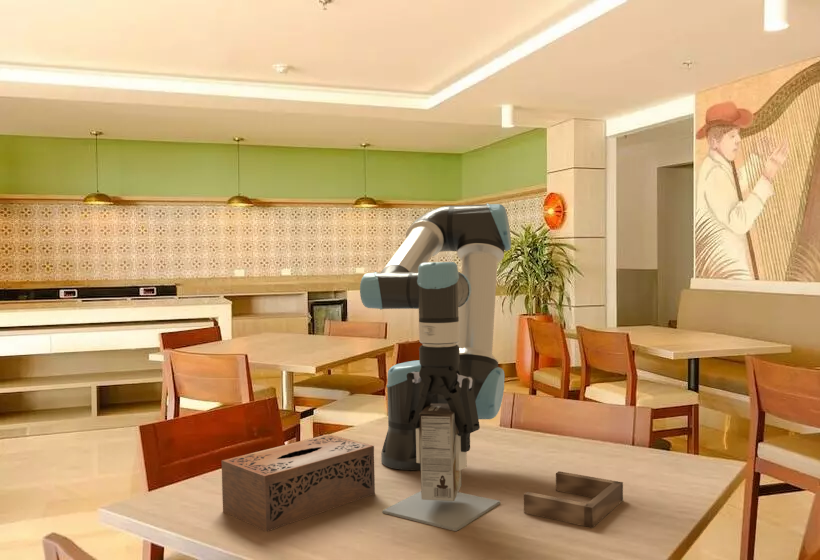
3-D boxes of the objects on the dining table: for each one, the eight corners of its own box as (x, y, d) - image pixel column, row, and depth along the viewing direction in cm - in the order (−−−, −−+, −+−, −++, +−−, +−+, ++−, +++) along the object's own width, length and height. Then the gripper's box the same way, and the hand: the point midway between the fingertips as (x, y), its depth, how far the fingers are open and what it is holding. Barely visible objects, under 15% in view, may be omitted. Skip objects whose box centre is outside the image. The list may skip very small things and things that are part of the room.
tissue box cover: (266, 533, 120) (264, 476, 119) (222, 512, 130) (221, 460, 129) (374, 495, 138) (373, 445, 138) (329, 480, 148) (328, 434, 148)
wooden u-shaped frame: (524, 512, 126) (523, 494, 126) (559, 488, 139) (558, 471, 139) (592, 527, 118) (592, 507, 118) (622, 500, 131) (622, 482, 131)
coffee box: (429, 484, 134) (427, 402, 134) (462, 485, 133) (460, 403, 132) (420, 500, 125) (418, 412, 125) (455, 502, 124) (453, 413, 123)
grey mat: (382, 512, 127) (382, 510, 127) (430, 488, 140) (430, 486, 140) (456, 531, 118) (456, 528, 118) (500, 503, 131) (500, 500, 131)
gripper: (382, 343, 131) (385, 461, 132) (477, 349, 119) (480, 479, 120) (405, 339, 137) (407, 452, 138) (498, 345, 125) (500, 468, 126)
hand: (441, 464), depth 129 cm, fingers closed on coffee box, 8 cm apart
